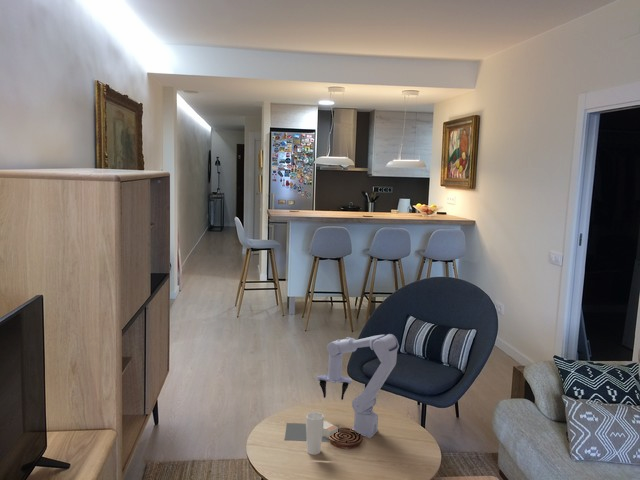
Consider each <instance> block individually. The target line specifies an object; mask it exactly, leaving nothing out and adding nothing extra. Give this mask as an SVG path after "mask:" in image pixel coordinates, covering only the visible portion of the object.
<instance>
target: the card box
mask: <svg viewBox="0 0 640 480" xmlns="http://www.w3.org/2000/svg"><path fill="white" fill-rule="evenodd" d="M335 425H336V424H332V423H331V422H329V421H327V420H324V426H323V434H322V435H323V436H325V437H327V438H328V437H330V436H331V435H332V434H334V433H336V432H338V427H337V426H335Z"/></svg>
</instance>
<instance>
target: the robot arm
mask: <svg viewBox="0 0 640 480" xmlns="http://www.w3.org/2000/svg"><path fill="white" fill-rule="evenodd" d="M368 347H369V348H370V349H371V351H374V353H375V355H376V356H377V359H378V360H379V362H380V364H379V366H378V367H377V369H376V370H375V372H374V374H373V375H372V377H371V378H370V380H369V381H368V383H367V385H365V388H364V389H363V391H362V392H360V394H358V396H356V397H355V398H353V400H352V401H351V408H352V409H353V411H354V422H353V427H352V428H351V429H352V430H355V431H357V432H358V433H359V434H361V435H360V436H361V437H362V436H363V437H366V438H369V439H371V438H372V437H373V436H374V435H375V434H376V433H377V432H378V431H379V428H378V427H379V414H378V413H376V412H374V411H373V410H374V407H375V405H376V404H377V398H378V396H379V395H378V393H379V392H380V390H381V388H382V387H383V385H384V384H385V383H386V381H387V379H388V378H389V376H390V374H391V373H392V371H393V370H394V368H395V367H396V365H397V358H398V357H397V356H398V350H399V348H400V345H399V341H398V338H397V337H396V336H395V335H394V334H392V333H388V334H378V335H372V336H369V337H365V338H360V339H356V338H354V337H350V336H347V337H345V338H343V339H341V338H339V339H337V340H334V341H331V342H329V343H328V344H326V352H327V353H328V366H327V367H328V368H327V369H328V370H327V374H323V375H320V374H318V375H317V378H316V379H317V382H319V386H320V388H321V391H322V395H323V398H324V399H326V396H327V382H330V383H332V384H336V383H338V384H339V383H340V384H342V385H341V398H340V399H341V401H343V400H344V396H345V393H346V391H347V389H348V387H349V385H352V378H351V377H345V376H342V371H343V369H342V367H343V356H344V354H348V353H354V352H356V351H357V349H358V348H368ZM359 434H358V435H359Z"/></svg>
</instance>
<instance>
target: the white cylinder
mask: <svg viewBox="0 0 640 480" xmlns="http://www.w3.org/2000/svg"><path fill="white" fill-rule="evenodd" d="M324 418H325V417H324V414H323V413H321V412H319V411H310V412H308V413H307V414H306V417H305V424H306V440H307V441H306V453H307V454H309V455H311V456H317V455H319V454H320V453H321V450H322V449H321V448H322V442H321V441H322V434H323V426H324Z"/></svg>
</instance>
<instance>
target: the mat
mask: <svg viewBox="0 0 640 480" xmlns="http://www.w3.org/2000/svg"><path fill="white" fill-rule="evenodd" d="M334 425H335V426H337V427H338V429H339V430H340V426H339V424H334ZM284 441H292V442H295V441H296V442H307V440H306V423H295V422H294V423H293V422H286V427H285V435H284ZM321 443H331V442H330V441H329V439H328V438H327V437H325V436H323V435H322V441H321Z"/></svg>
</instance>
